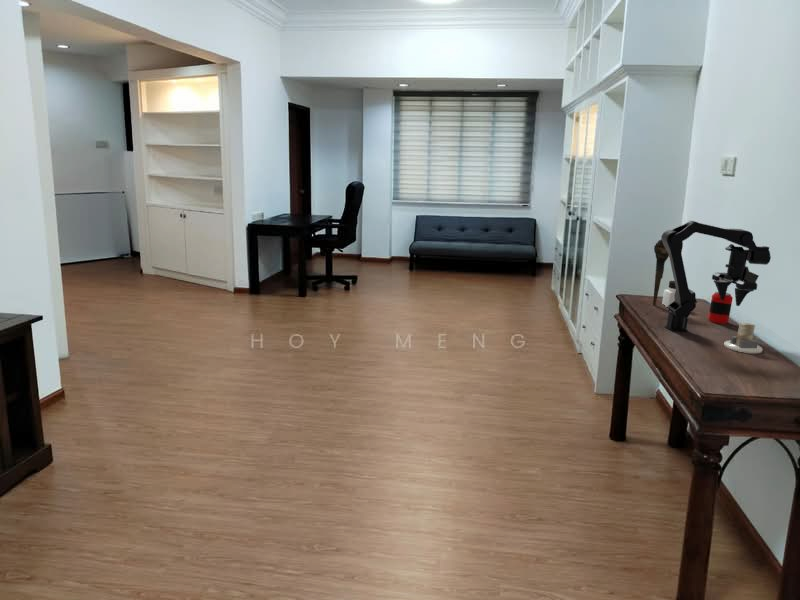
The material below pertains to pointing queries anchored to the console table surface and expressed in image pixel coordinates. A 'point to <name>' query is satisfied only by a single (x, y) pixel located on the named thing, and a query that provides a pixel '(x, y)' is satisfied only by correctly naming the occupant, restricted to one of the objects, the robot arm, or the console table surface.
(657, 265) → the decorative torch
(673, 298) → the medicine bottle
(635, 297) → the console table surface
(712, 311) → the soda can
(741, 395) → the console table surface
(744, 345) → the dish
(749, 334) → the block
